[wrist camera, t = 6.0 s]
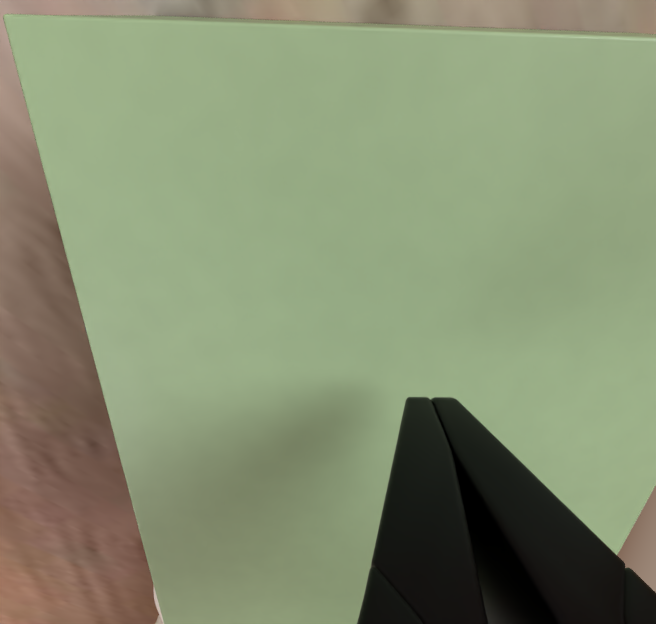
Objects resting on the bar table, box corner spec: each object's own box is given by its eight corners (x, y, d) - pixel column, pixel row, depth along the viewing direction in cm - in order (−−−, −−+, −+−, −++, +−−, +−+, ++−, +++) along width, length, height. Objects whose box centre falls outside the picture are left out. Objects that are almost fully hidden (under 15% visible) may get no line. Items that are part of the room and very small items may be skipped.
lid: (559, 615, 15) (570, 642, 15) (175, 615, 15) (168, 643, 14) (844, 45, 7) (899, 46, 7) (32, 16, 7) (0, 13, 6)
